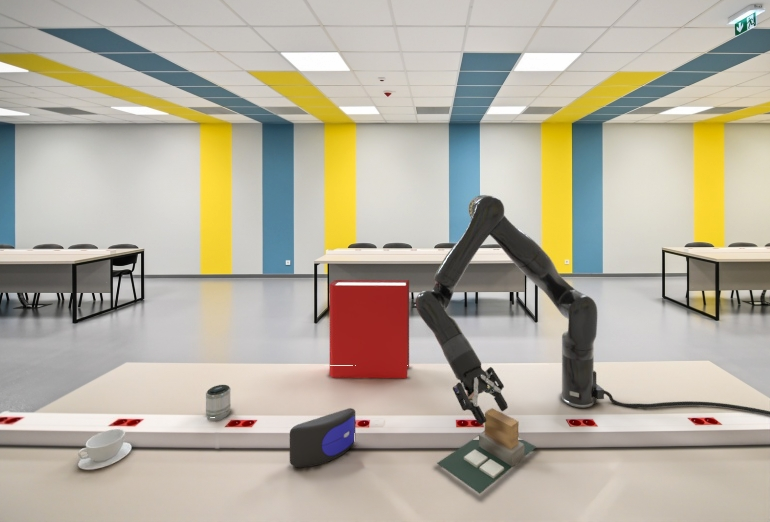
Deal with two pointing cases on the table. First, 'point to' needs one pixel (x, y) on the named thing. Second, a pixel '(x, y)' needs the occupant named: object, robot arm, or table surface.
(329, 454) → the computer mouse
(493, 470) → the smudge
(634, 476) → the table surface
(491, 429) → the eraser
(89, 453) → the teacup
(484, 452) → the slate board
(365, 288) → the book
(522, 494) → the table surface
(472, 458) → the white square tile
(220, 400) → the camera lens
